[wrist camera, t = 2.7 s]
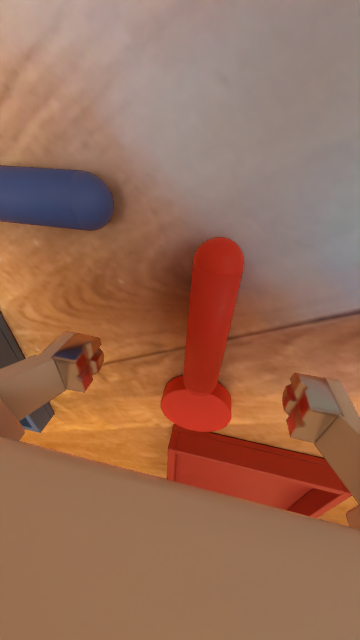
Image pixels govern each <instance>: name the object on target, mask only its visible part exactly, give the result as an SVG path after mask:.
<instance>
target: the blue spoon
mask: <svg viewBox="0 0 360 640" xmlns="http://www.w3.org/2000/svg"><path fill="white" fill-rule="evenodd" d="M113 211H114V202H113V197H112V194H111V192H110V190H109V188H108V187H107V185H106V184H105V183H104V182H103V181H102V180H101V179H100V178H99V177H97V176H96V175H94V174H92V173H90V172H86V171H81V170H65V169H49V168H33V167H17V166H1V165H0V221H2V222H12V223H21V224H31V225H40V226H50V227H59V228H69V229H78V230H88V231H94V230H98V229H101V228H103V227H104V226H106V225H107V224H108V223H109V221H110V219H111V218H112V215H113Z"/></svg>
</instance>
